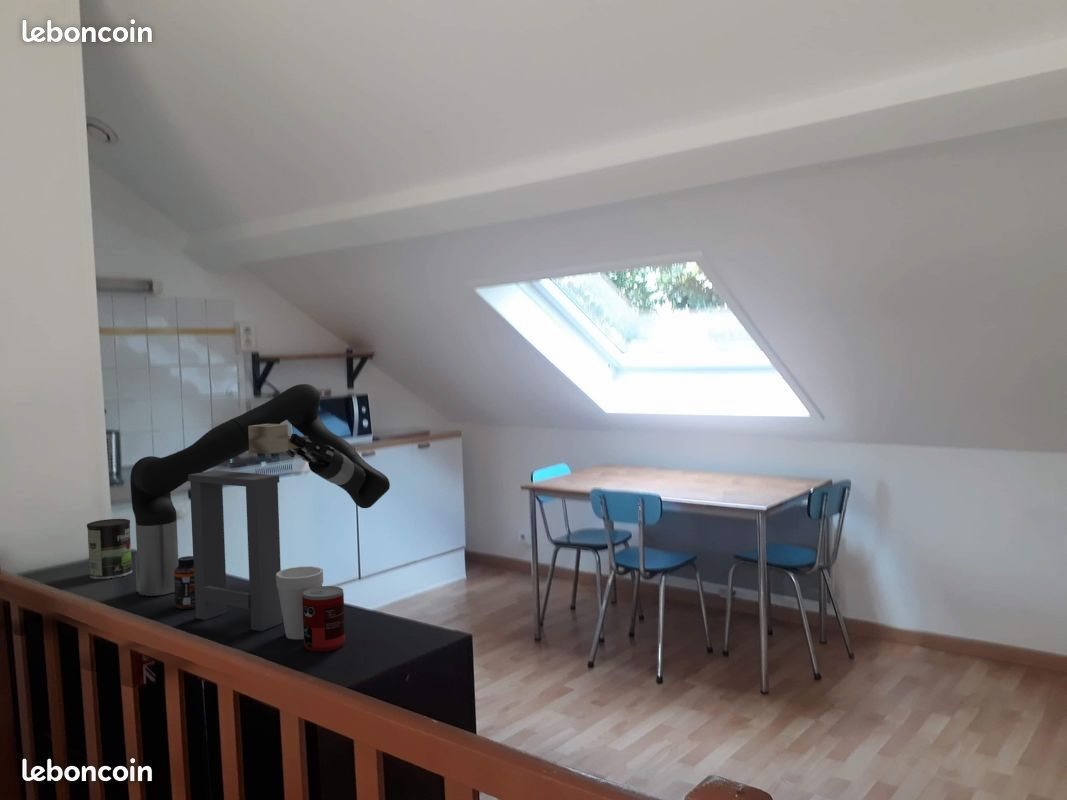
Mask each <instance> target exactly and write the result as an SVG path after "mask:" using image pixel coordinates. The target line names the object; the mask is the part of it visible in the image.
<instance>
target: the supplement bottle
mask: <svg viewBox="0 0 1067 800" xmlns="http://www.w3.org/2000/svg"><path fill="white" fill-rule="evenodd" d="M178 564H179V565H178V567H177V568H176V569H175V571H174V585H175V592H174V604H175V607H176V608H177V609H180V610H188V609H196V606H195V581H194V557H193V555H187V556H186V555H185V556H180V557H178Z"/></svg>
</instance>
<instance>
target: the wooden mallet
mask: <svg viewBox="0 0 1067 800" xmlns="http://www.w3.org/2000/svg"><path fill="white" fill-rule="evenodd" d="M248 434H249V450H248V452H249V453H251V454H252V453H253V454H268V455H269V454H275V453H276V454H277V453H282V452H286V451H288V450H289V449H296V448H299V447H297V446H296V445H294V444H292V443H291V442H290V438H291V436H290V437H288V436H289V427H288V424H285V423H280V424H261V425H253V426H248ZM299 436H300V437H302V438H303V439H308V436H304V435H299Z"/></svg>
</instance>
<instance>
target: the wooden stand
mask: <svg viewBox="0 0 1067 800" xmlns="http://www.w3.org/2000/svg"><path fill="white" fill-rule="evenodd" d="M187 482H189V483H190V501H191V502H190V503H191V504H190V505H191V507H190V508H191V529H192V530H191V531H192V549H193V550H192V552H193V554H192V556H193V557H194V581H195V606H196V607H195V619H198V620H204V621H207V620H209V619H212V618H216V617H218V616H221V615H223V614H226V613H228V606H230V607H237V608H242V609H248V610H249V611H250V630H254V631H258V632H264V631H265V630H268V629H272V628H274V627H276V626H279V625H281V624H284V621H283V616H282V610H281V604H280V598H279V592H278V587H277V586H276V573H277V572H279V571H281V570H282V569H281V566H282V565H281V543H280V518H279V515H280V514H279V510H280V507H279V483H280V475H277V474H265V473H254V472H253V473H251V472H242V471H241V472H240V471H226V470H206V471H204V472H201V473H195V474H189V475H188V481H187ZM224 485H225V486H233V487H234V486H235V487H236V486H237V487H245V497H246V499H245V501H246V529H247V530H246V531H247V554H248V555H247V556H248V559H247V560H248V581H249V582H248V583H249V585H248V586H249V592H247V591H246V592H245V591H240V590H234V589H229V588H227V572H226V571H227V570H226V548H225V547H226V546H225V545H226V544H225V523H224V522H225V519H224V497H223V496H224V495H223V494H224V493H223V486H224Z"/></svg>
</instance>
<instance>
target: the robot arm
mask: <svg viewBox="0 0 1067 800" xmlns="http://www.w3.org/2000/svg"><path fill="white" fill-rule="evenodd" d="M320 404H321V395H320V392H319V390H318V389H317V388H316V386H315V385H312V384H309V383H300V384H296V385H294V386H291V387H289V388H287V389H285V390H284V391H283V392H281V393H280V394H278V395H276V396H274V397H273V398H271V399H270V400H268V401H266V402H264V403H263V404H261V405H258V406H256V407H254V408H252V409H249V410H248V411H246V412H244V413H243V414H240V415H238V416H235V417H233V418H231V419H228V420H226V421H225V422H222V423H220V424H218V425H216V426H215V427H213V428H211V429H210V430H209V431H207V432H206V433H204V434H203V435H202V436H201V437H200V438H199V439H197V440H196V441H195V442H193V444H192V443H191V445H189V446H188V447H186V448H183V449H182V450H178V451H177V452H174V453H171V454H169V455H167V456H166V455H165V456H163V457H159V456H153V455H150V456H144V457H141V458H139V460H137V461H136V462H135V463H134V464H133V466H132V468H131V470H130V471H131V472H130V477H129V478H130V496H131V505H132V506H131V507H132V513H133V515H134V518H135V535H136V536H135V537H136V538H135V539H136V541H135V542H136V553H135V554H134V565H135V586H136V587H135V590H136V592H138V595H140V596H144V595H145V596H144V597H147V596H148V597H150V596H151V597H154V596H164V595H168V594H173V593H175V585H174V571H175V569H176V568H177V567H178V565H179V564H178V559H179V543H178V541H179V540H178V523H177V522H178V520H177V519H178V518H177V510H176V508H175V506H174V503H173V501H172V496H171V495H172V494H171V493H172V492H174V491H175V490H176V489H178V488H180V487H181V486H183V485H184V484H185V483H187V482H189V481H188V475H189V474H195V473H201V472H207V471H209V470H211V469H213V468H215V467H216V466H219V465H221V464H223V463H225V462H227V461H230V460H232V459H234V458H236V457H238V456H240V455H242V454H244V453H246V452H249V434H248V426H253V425H261V424H283V423H284V422H285V421H287V422H288V423H289V424H290V425H291V426H293V428H294V429H296V430H297V431H298V432H299V433H300V434H302V436H308V439H303V438H302V437H300V436H301V435H299V434H297V433H292V434H291V435H288V437H291V438H290V442H291V443H292V444H294V445H296V446H297V447H299V448H296V449H289V450H288V451H285V452H286V454H287V455H288V456H289V457H291V458H295V457H296V456H297V457H299V458H300V459H301V460H303V462H304V461H305V462H306V463H307V465H308V467H309V470H310V471H311V472H312V473H314V474H315V475H317V476H319V477H321V478H322V479H323V480H325V481H327V482H329V483H331V484H334V485H336V486H338V487H339V488H340V489H343V490H344V491H345V492H346V493H347V494H348V495H349V497H350V498H351V499H352V501H353V502H354V504H355V505H356V506H358V507H359V508H361V509H369V508H371V507H372V506H374V505H375V504H376V503H377V502H378V501H379V500H380V499H381V498H382V497H383V496H384V495H385V494H386V493H387V492H388V491H389V490H390V487H391V483H390V480H389V478H388V477H387V476H386V474H385V473H383V472H381V471H379V470H378V469H376V468H375V467H373V466H372V465H370V464H369V463H368V462H367V461H365V460H364V459H363V458H362V457H361V455H359V453H358V452H357V451H356V450H355V448H354V447H353V446H352V445H351V444H350V443H349V442H348V441H347V440H346V439H344V438H343V437H341V436H339V435H337V434H335V433H334V432H332V431H331V430H329V428H327V426H326V425H325V424H324V422H323V420H322V419H321V417H320V416H319V410H320Z"/></svg>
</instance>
